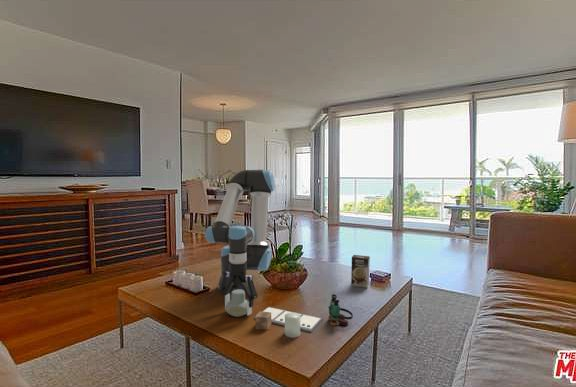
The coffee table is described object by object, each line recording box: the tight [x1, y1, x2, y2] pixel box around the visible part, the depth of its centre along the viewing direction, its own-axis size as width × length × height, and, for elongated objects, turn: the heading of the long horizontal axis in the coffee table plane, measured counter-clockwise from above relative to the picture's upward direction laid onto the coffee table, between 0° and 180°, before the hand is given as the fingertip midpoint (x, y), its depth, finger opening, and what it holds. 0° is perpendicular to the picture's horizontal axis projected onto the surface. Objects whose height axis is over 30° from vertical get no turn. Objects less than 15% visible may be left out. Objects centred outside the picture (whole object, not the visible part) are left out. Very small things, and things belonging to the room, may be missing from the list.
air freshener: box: [225, 289, 248, 318], centre depth 140 cm, size 11×8×10 cm
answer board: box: [253, 306, 323, 333], centre depth 135 cm, size 26×12×1 cm, turn 63°
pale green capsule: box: [284, 312, 301, 339], centre depth 123 cm, size 6×6×7 cm
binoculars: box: [327, 293, 354, 327], centre depth 133 cm, size 9×11×10 cm
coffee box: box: [350, 254, 371, 289], centre depth 177 cm, size 9×6×16 cm
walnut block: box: [255, 310, 272, 331], centre depth 129 cm, size 5×5×5 cm
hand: (238, 311), depth 141 cm, fingers closed on air freshener, 11 cm apart
